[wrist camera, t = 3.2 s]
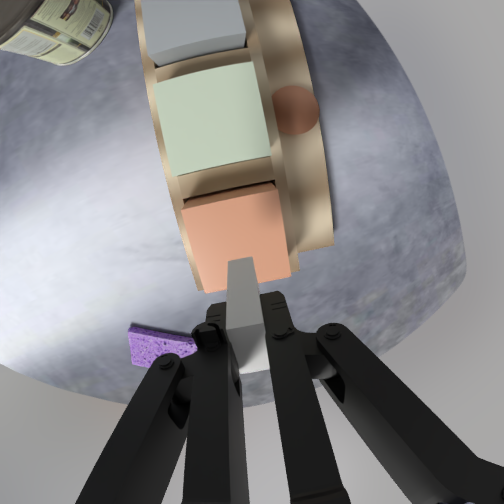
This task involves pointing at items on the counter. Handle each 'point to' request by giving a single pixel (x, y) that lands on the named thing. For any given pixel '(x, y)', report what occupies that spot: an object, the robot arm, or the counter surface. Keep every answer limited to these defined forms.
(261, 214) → the terracotta key
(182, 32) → the grey key
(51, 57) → the coffee can
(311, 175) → the key panel
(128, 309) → the counter surface
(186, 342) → the sponges
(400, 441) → the robot arm
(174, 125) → the sage key
